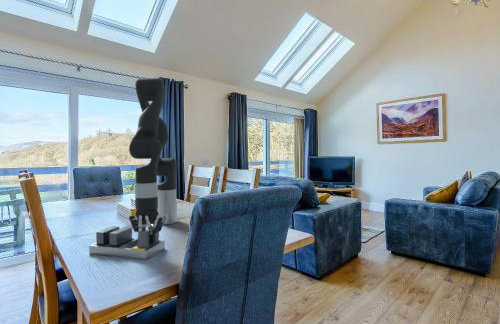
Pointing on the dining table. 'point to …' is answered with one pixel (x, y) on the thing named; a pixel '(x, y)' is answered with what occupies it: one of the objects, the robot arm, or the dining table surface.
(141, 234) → the grey block
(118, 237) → the rack
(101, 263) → the dining table surface
